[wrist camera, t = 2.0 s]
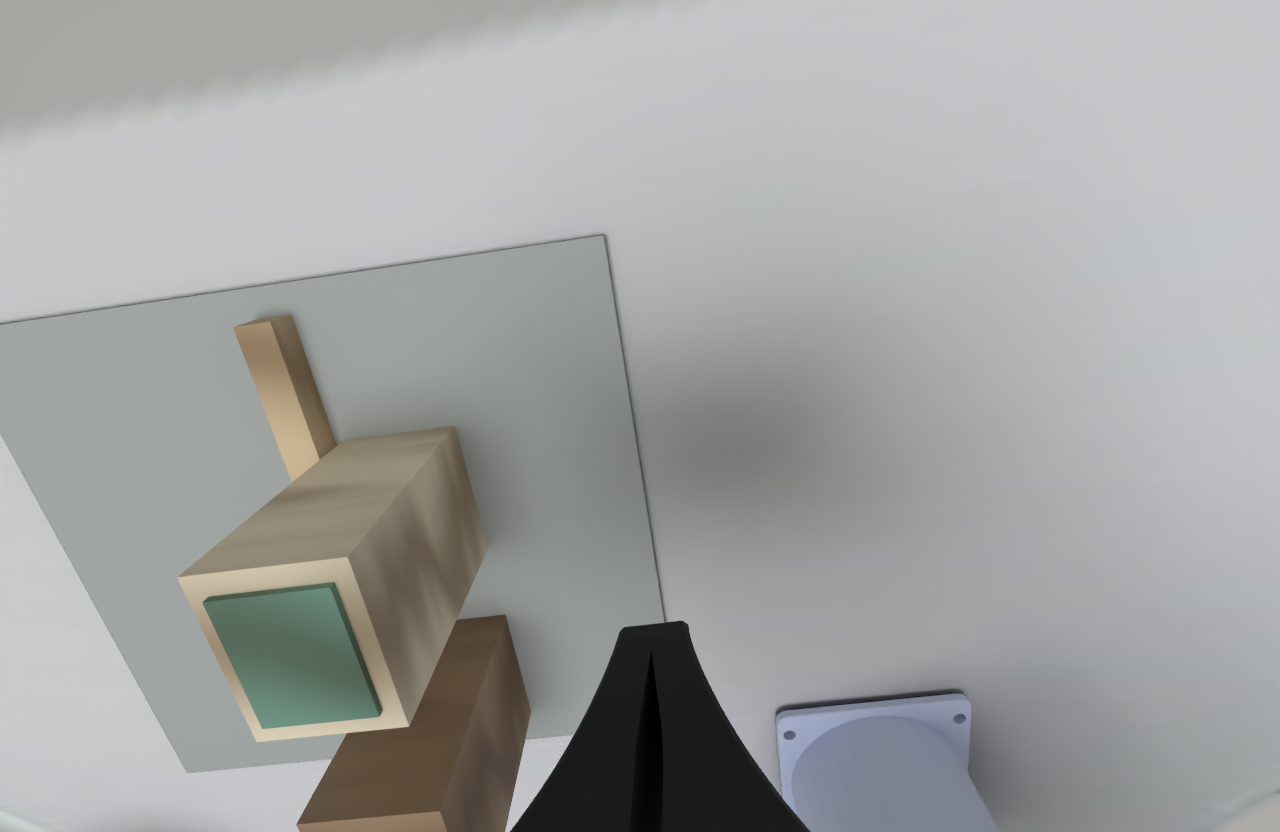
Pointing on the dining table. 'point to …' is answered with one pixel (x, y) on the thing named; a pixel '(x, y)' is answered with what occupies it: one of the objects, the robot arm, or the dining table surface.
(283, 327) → the oak rail
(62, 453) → the grey mat
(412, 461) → the beech block
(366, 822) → the walnut block
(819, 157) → the dining table surface
